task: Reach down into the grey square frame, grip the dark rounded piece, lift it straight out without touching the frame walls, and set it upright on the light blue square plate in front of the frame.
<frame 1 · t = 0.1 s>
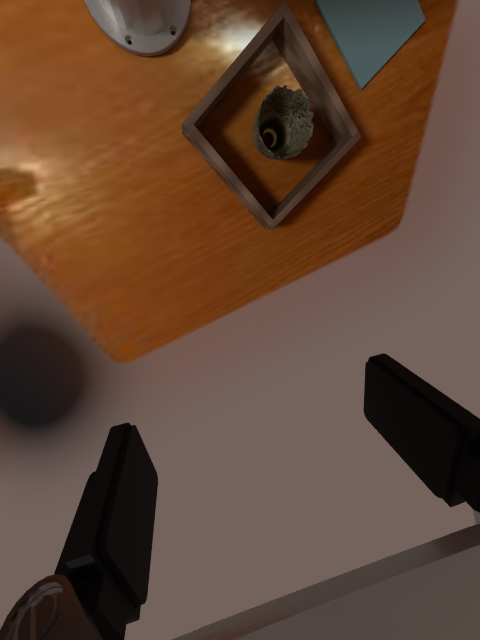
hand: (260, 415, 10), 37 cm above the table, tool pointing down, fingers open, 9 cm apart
light blue square plate: (371, 12, 36), on the table
dark rounded piece: (267, 139, 39), resting in grey square frame
grey square frame: (268, 139, 39), on the table
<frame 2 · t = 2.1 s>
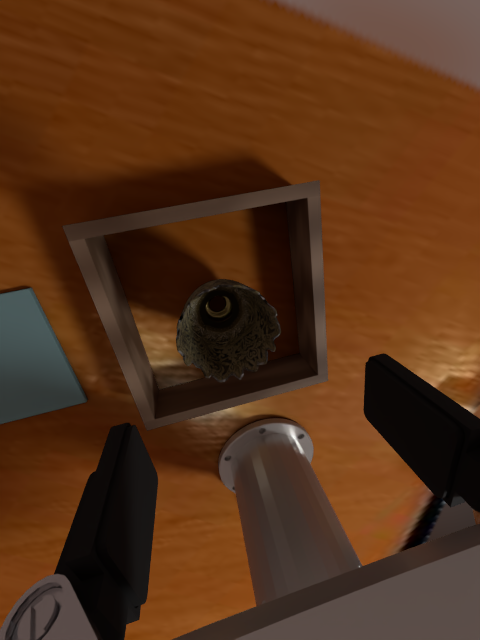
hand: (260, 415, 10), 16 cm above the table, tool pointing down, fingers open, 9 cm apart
dark rounded piece: (216, 302, 26), resting in grey square frame
grey square frame: (217, 303, 25), on the table
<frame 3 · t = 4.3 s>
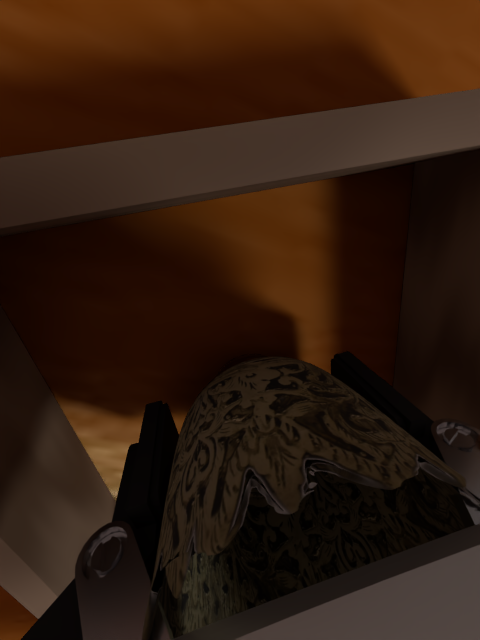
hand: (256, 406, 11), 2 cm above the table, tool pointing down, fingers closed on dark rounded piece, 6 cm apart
dark rounded piece: (246, 378, 13), resting in grey square frame, touching gripper
grey square frame: (247, 381, 12), on the table
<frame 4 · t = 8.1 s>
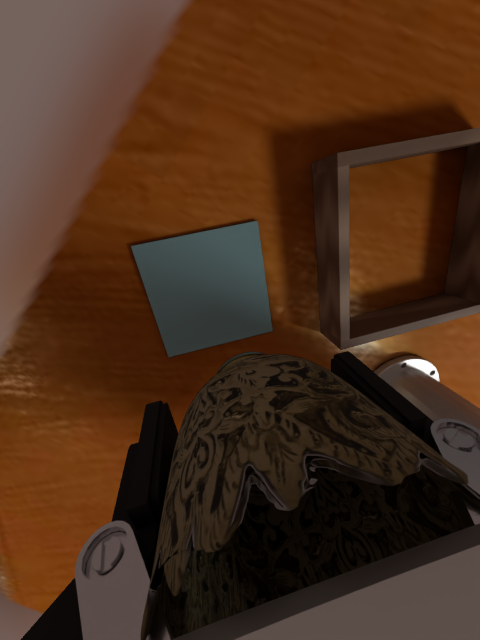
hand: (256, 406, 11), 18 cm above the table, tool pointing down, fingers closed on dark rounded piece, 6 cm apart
light blue square plate: (209, 292, 27), on the table
dark rounded piece: (246, 377, 12), point 16 cm above the table, touching gripper
grey square frame: (391, 241, 29), on the table
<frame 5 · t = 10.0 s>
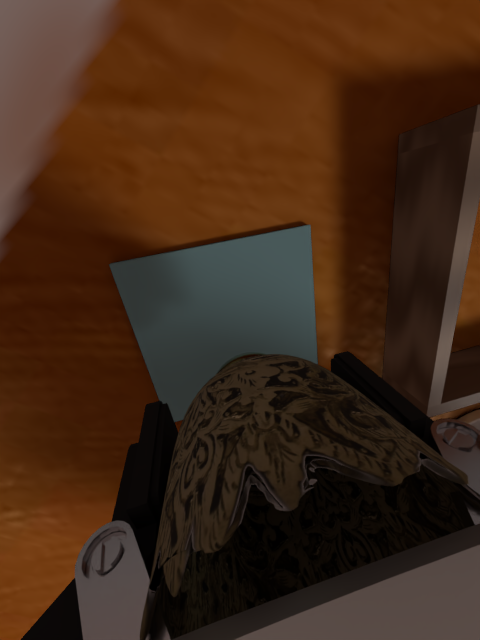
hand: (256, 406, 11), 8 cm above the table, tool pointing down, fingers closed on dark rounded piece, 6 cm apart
light blue square plate: (231, 331, 18), on the table
dark rounded piece: (246, 377, 12), point 6 cm above the table, touching gripper
when the fingers open (4 cm above the table, at t = 11.8 s): dark rounded piece drops 1 cm, resting on light blue square plate.
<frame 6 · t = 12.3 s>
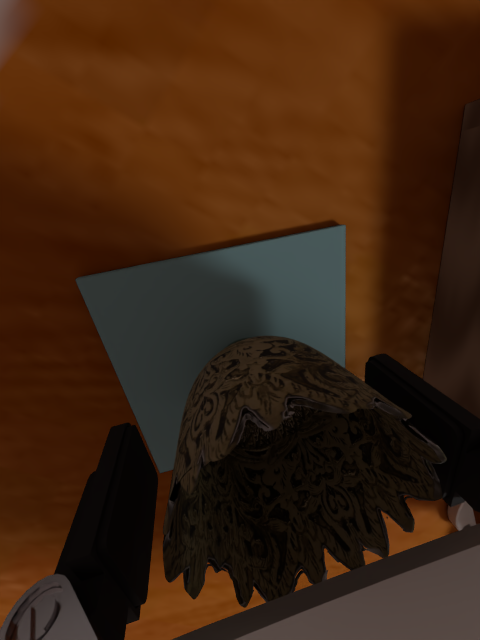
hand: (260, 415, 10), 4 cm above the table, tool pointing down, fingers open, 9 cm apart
light blue square plate: (239, 360, 14), on the table
dark rounded piece: (244, 361, 14), resting on light blue square plate
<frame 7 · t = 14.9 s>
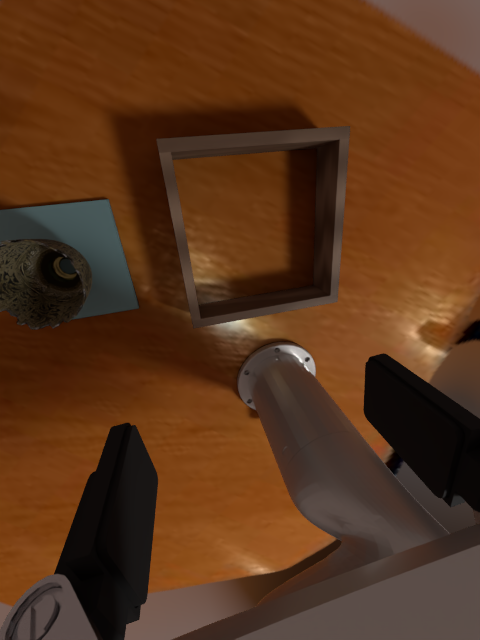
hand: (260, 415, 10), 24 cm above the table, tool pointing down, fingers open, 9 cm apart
light blue square plate: (67, 265, 28), on the table
dark rounded piece: (69, 265, 28), resting on light blue square plate
grey square frame: (253, 232, 31), on the table
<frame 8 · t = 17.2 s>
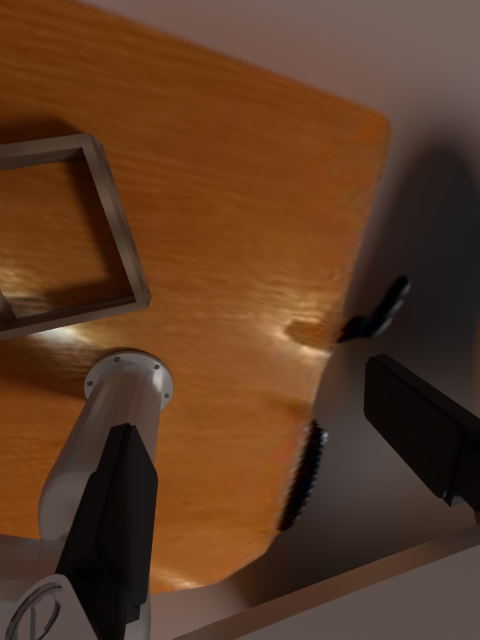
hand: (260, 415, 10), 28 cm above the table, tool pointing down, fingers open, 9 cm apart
grey square frame: (53, 243, 31), on the table
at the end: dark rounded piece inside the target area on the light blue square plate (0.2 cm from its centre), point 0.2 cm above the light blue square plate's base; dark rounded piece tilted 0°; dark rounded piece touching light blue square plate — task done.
